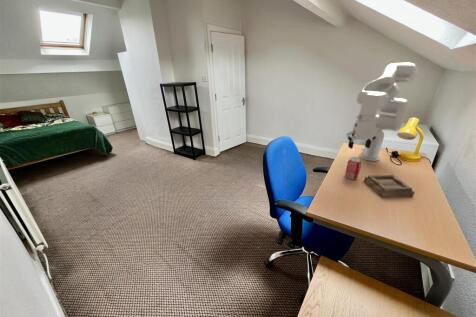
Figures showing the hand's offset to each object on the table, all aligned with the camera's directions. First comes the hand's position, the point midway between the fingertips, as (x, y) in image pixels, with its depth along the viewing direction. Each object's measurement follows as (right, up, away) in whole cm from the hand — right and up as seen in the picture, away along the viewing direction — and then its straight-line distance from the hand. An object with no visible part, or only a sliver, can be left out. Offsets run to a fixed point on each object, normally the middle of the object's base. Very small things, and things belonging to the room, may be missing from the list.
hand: (358, 147), depth 113 cm
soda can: (+1, -18, +9) cm, 20 cm away
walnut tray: (+14, -23, -3) cm, 27 cm away
